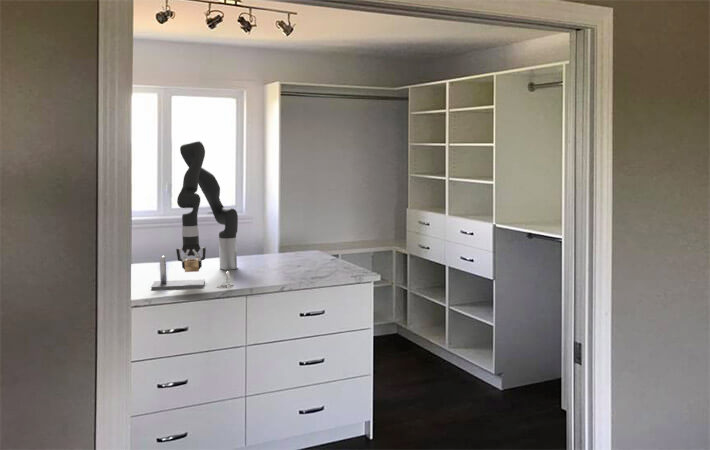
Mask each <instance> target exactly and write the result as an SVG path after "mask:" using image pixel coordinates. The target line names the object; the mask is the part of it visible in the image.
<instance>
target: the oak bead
mask: <svg viewBox="0 0 710 450" xmlns="http://www.w3.org/2000/svg"><path fill="white" fill-rule="evenodd" d="M198 261H199V260H198V259H197V258H186V259H185V262H184V264H185V270H184V273H191V272H193V273H194V272H195V273H196V272H200V269H199V262H198Z"/></svg>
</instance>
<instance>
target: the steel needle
mask: <svg viewBox="0 0 710 450" xmlns="http://www.w3.org/2000/svg"><path fill="white" fill-rule="evenodd" d="M159 272H160V274H159V275H160V276H159V277H160V281H161V284H167V281H168V280H167V277H168V275H167V258H166V256H164V255H161V256H160V257H159Z"/></svg>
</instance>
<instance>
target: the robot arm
mask: <svg viewBox="0 0 710 450" xmlns="http://www.w3.org/2000/svg"><path fill="white" fill-rule="evenodd" d="M179 151H180V155H181V157H182V160H184V162H185V164H186V165H187V167H188V168H187V170H186V171H185V174H184V176H183V181H182V183H183V184H182V188H181V190H180V192H179V193H178V196H177V201H176V203H177V206H178V207H179V208H181V209H192V210H191V211H189V212H186V213H183V214H182V216H181V219H182V220H181V221H182V226H181V227H182V229H181V230H182V231H181V234H182V247H177V248H176V249H175V250H176V256H177V261H179V262H181V265H182V266H181V267H182V269H183V270H184V271H185V264H184V262H185V259H187V257H191V256H193V257H196V259H198V260H199V261H198V262H199V270H200V269H202V261H203V260H205V259H206V253H207V252H206V249H207V247H206V246H200V241H199V240H200V236H199V226H198V216H199V215H198V213H199V207H200V205H201V196H200V195H199V193H197V192H198V188H200V190H201V191H202V193H203V195H204V197H205V199H206V201H207V203H208V204H209V207H210V210H211V211H212V214H213V217H214V219H215V221H216V222H217V223H218V224H220V225H222V226H223V225H224V229H223V230H222V231H220V232H219V233H218V243H219V245H218V249H219V250H218V251H219V252H218V253H219V269H220V270H224V271H225V270H226V271H231V270H238V256H237V255H238V253H237V252H238V251H237V234H238V222H239V221H238V217H239V215H238V212H237V210H236V209H234V208H230V207H224V205H223V203H222V201H221V199H220V194H221V186H220V184H219V183H218V180H217V179H216V177H215V175H214V174H213V173H211V172H210V171H208V170H207V169H205V168H203V167H202V166H203V163H204V160H205V155H206V149H205V145H204V144H203V143H202V141H200V140H196V141H192V142H189V143H184V144H182V145H181V146H180V148H179ZM198 186H199V187H198ZM199 251H201V252H202V256H200V254H199ZM181 252H183V253H184V255H183V257H182V256H181ZM181 257H182V258H181Z"/></svg>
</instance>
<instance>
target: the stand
mask: <svg viewBox="0 0 710 450" xmlns="http://www.w3.org/2000/svg"><path fill="white" fill-rule="evenodd" d="M230 281H231V280H230V270H226V284H219V285H216V288H217V289H227V287H230V288H234V287H233V286H235V285H234V284H231V283H230Z"/></svg>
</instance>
